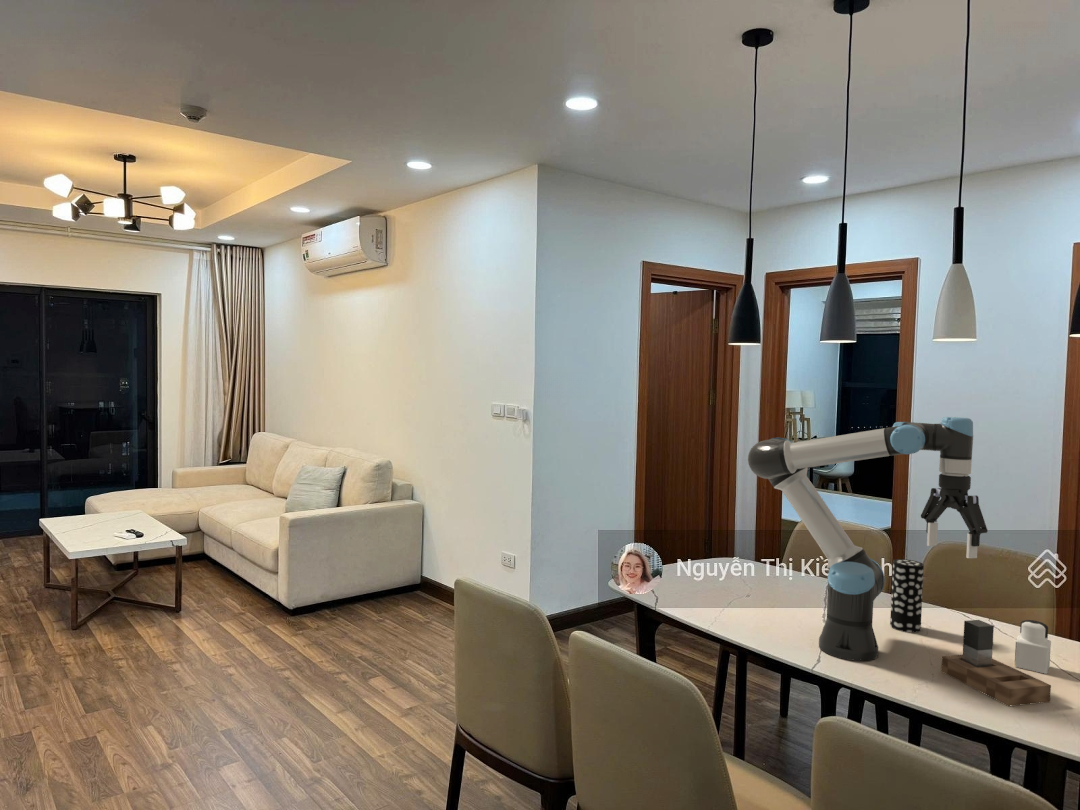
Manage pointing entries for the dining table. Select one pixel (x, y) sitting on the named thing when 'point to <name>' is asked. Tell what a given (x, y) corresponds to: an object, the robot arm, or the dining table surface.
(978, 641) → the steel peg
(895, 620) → the spotted tube
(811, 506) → the robot arm
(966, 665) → the wooden compartment tray
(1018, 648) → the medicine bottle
